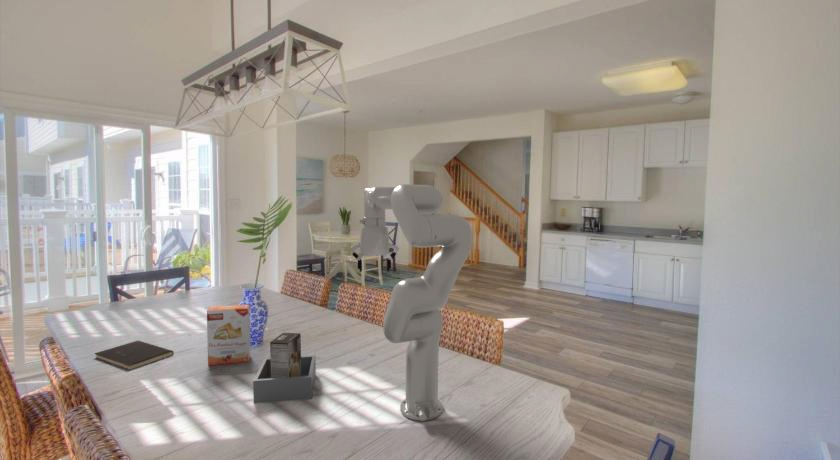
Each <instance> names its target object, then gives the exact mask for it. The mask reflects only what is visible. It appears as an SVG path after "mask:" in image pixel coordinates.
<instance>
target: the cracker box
mask: <svg viewBox="0 0 840 460" xmlns="http://www.w3.org/2000/svg"><path fill="white" fill-rule="evenodd" d="M250 310H251V309H250V304H241V305H240V304H239V305H237V304H236V305H219V306H218V305H217V306H216V305H215V306H209V307H208V309H207V311H206V332H207V333H206V334H207V335H206V336H207V338H206V339H207V366H217V365H229V364H230V365H231V364H241V363H249V361H250V359H251V316H250V315H251V314H250V313H251V311H250Z"/></svg>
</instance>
